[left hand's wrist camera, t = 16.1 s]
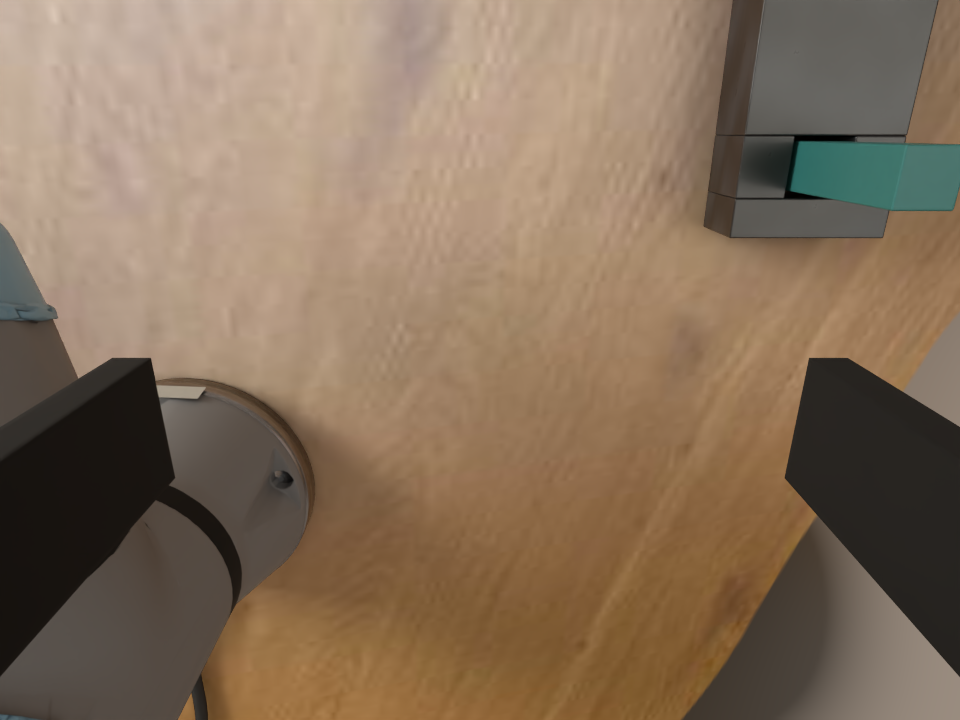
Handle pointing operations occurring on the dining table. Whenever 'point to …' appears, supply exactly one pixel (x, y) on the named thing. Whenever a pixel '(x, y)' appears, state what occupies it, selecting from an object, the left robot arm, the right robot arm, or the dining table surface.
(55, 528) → the left robot arm
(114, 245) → the dining table surface
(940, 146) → the peg
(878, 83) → the peg board
